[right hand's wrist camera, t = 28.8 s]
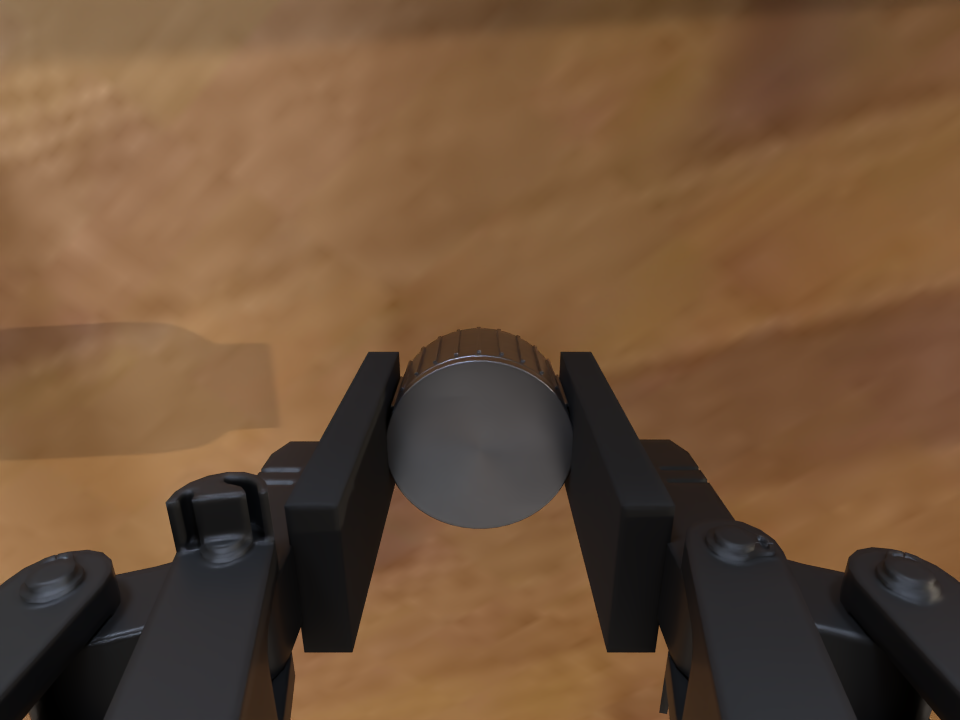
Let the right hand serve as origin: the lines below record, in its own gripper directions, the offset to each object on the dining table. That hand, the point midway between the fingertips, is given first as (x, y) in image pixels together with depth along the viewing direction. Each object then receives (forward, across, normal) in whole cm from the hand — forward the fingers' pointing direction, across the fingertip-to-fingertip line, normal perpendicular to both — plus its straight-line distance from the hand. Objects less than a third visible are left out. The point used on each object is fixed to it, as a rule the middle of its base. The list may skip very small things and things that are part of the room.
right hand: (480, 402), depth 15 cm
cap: (-2, 0, 0) cm, 2 cm away
